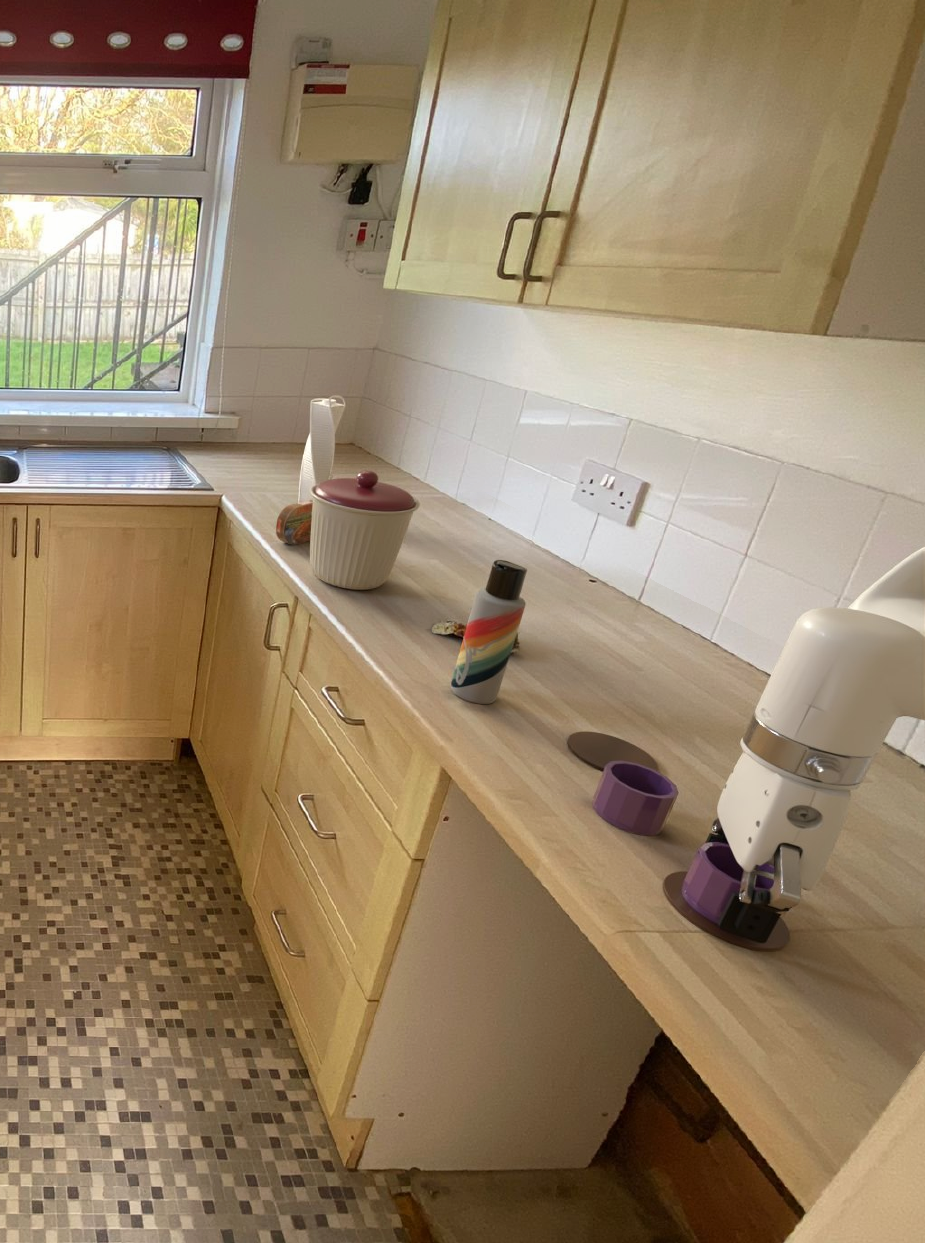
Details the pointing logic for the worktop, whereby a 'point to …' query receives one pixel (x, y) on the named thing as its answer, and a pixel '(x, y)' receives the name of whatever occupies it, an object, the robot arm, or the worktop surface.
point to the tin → (295, 523)
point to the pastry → (460, 631)
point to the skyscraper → (320, 445)
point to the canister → (358, 530)
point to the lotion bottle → (490, 634)
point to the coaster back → (607, 750)
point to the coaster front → (675, 897)
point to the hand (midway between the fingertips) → (728, 901)
